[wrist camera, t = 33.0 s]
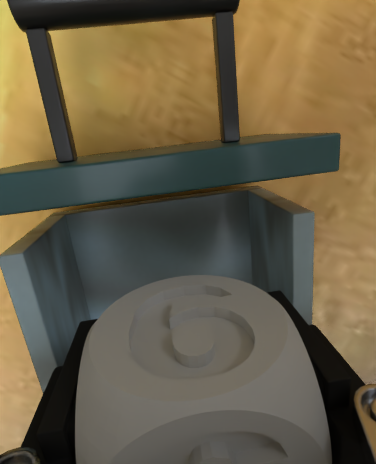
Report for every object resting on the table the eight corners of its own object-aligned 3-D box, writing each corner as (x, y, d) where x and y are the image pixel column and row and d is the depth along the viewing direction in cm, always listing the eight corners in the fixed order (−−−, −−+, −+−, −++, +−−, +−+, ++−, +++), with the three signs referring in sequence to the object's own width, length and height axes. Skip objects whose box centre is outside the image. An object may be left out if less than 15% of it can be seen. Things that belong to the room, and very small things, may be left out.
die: (126, 404, 11) (107, 600, 6) (101, 285, 10) (51, 431, 5) (257, 382, 12) (328, 553, 7) (254, 264, 10) (344, 382, 5)
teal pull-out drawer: (-10, 29, 13) (-153, -65, 7) (264, 6, 14) (353, -96, 8) (83, 371, 18) (51, 485, 12) (272, 338, 19) (327, 429, 13)
